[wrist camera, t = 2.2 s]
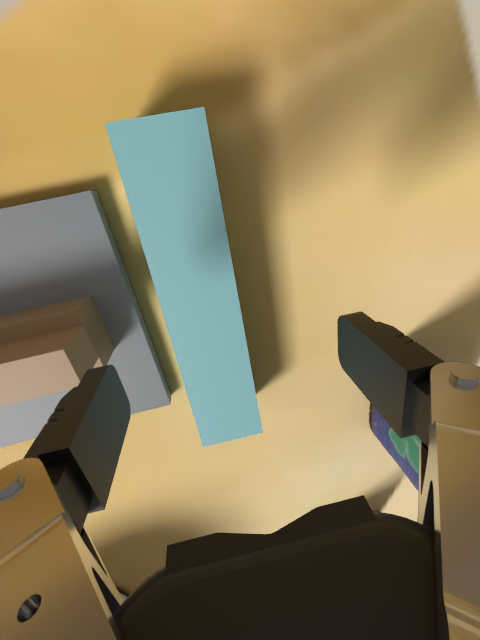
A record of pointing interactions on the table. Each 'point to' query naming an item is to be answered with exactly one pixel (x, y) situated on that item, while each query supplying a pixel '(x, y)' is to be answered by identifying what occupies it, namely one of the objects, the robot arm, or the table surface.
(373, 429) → the flask
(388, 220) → the table surface
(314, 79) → the table surface
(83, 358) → the fulcrum
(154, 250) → the batten
